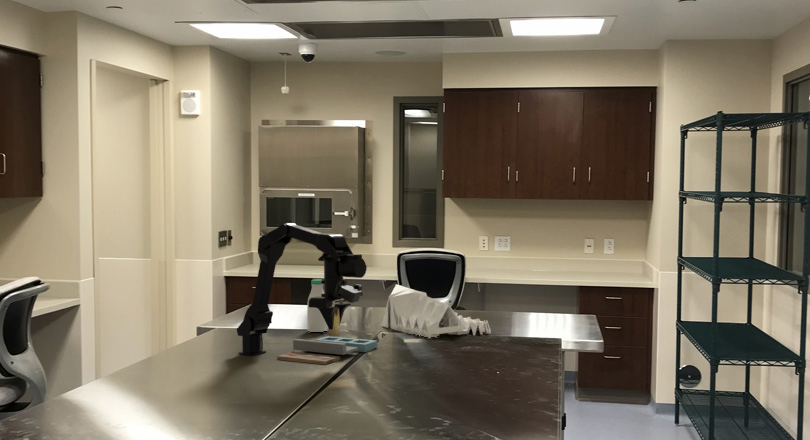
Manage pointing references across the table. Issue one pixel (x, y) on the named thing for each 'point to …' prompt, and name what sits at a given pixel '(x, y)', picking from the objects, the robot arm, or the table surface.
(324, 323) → the milk bottle
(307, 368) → the table surface
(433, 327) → the white faceted model
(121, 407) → the table surface
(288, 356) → the plate
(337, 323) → the brass pin
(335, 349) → the sliding cover
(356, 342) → the socket board
